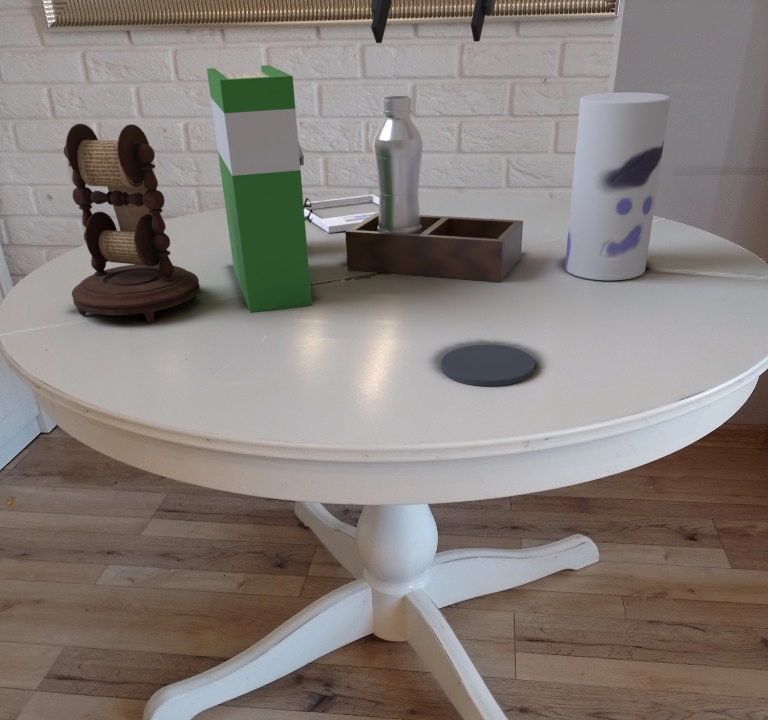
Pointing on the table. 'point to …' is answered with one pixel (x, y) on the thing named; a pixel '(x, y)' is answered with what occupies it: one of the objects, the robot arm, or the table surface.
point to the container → (615, 183)
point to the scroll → (124, 227)
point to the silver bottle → (398, 168)
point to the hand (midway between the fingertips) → (424, 34)
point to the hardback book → (262, 185)
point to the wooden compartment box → (438, 248)
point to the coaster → (488, 365)
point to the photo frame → (342, 221)
